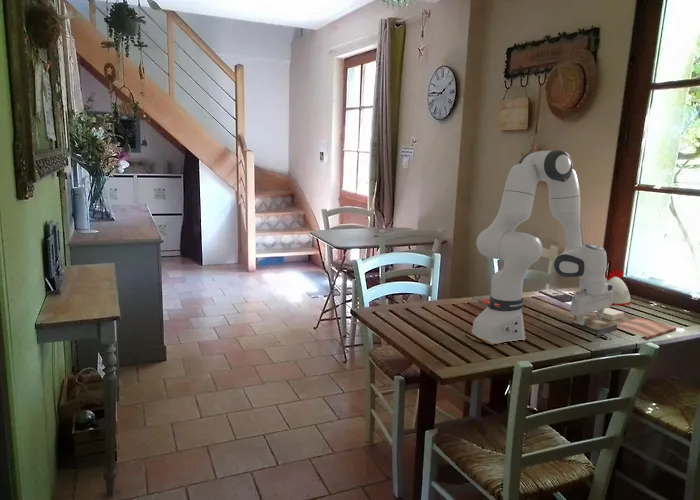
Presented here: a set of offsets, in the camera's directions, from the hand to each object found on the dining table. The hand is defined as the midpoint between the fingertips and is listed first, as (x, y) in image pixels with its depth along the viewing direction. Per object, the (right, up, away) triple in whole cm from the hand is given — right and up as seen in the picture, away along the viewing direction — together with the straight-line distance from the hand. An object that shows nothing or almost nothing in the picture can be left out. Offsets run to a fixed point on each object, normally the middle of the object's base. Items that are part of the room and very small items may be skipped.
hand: (590, 322), depth 200 cm
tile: (+12, +1, +10) cm, 16 cm away
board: (+16, -1, +4) cm, 16 cm away
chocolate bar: (+5, +6, +43) cm, 43 cm away
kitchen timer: (+24, +4, +31) cm, 40 cm away
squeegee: (0, -3, 0) cm, 3 cm away
